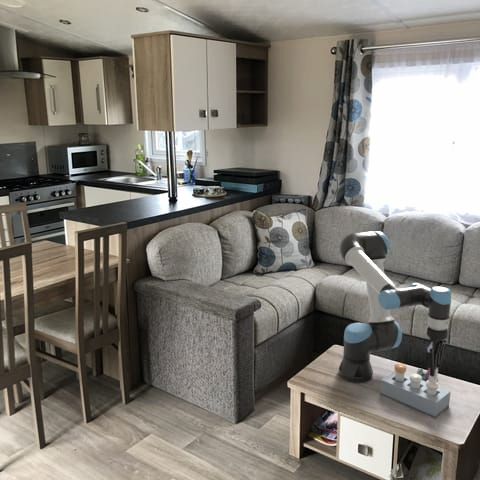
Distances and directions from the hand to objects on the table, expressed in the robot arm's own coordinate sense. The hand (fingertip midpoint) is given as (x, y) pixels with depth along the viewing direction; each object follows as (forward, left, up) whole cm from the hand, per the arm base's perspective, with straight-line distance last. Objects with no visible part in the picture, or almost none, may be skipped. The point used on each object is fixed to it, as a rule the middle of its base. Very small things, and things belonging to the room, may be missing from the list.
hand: (432, 382), depth 199 cm
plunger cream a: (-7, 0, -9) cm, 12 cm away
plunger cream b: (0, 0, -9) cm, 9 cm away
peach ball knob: (-14, 0, -7) cm, 16 cm away
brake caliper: (-9, +14, -12) cm, 20 cm away
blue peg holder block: (-7, 0, -11) cm, 13 cm away
